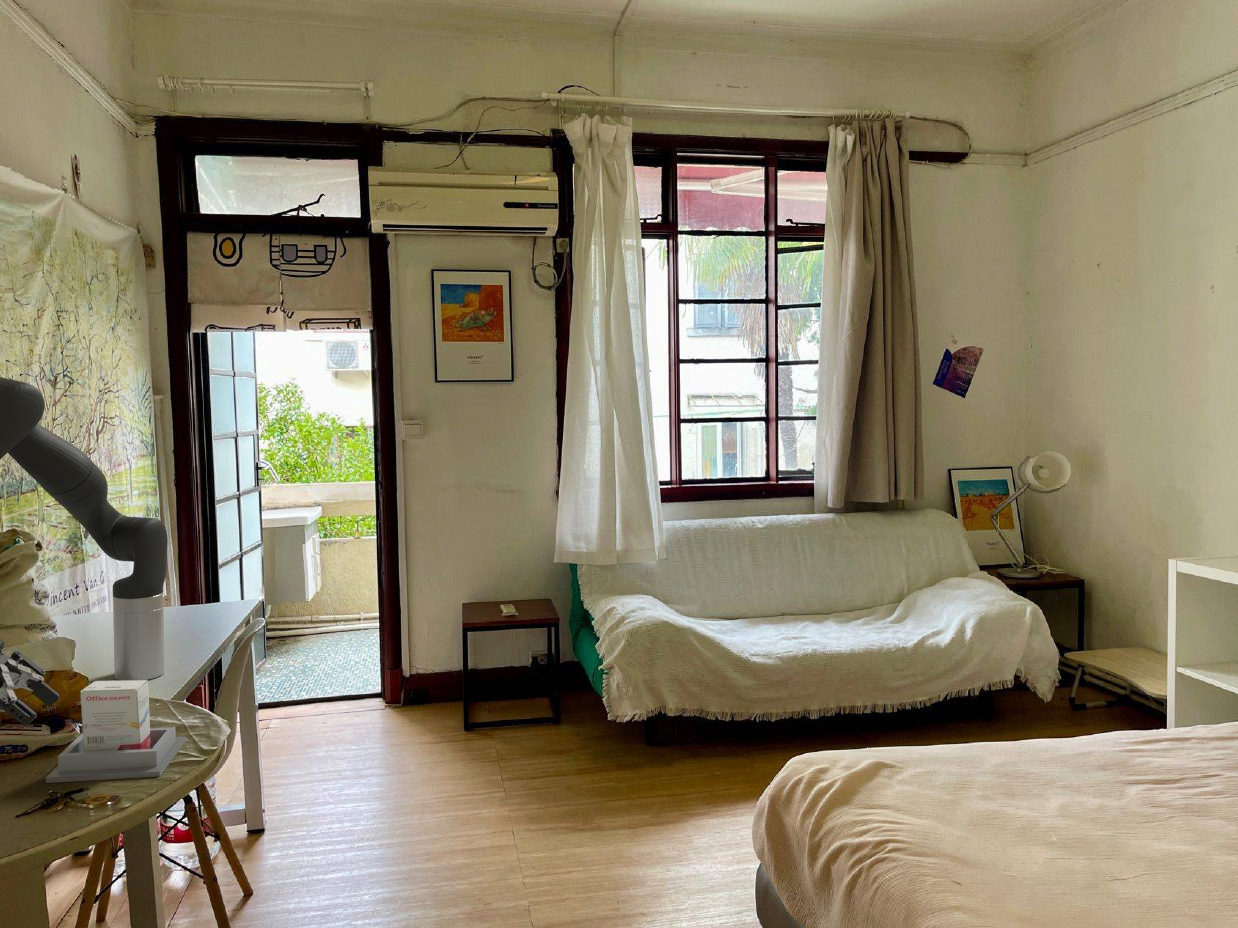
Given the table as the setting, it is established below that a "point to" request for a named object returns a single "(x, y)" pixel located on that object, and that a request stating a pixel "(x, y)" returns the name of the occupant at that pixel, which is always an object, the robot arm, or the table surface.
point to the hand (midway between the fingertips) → (44, 711)
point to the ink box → (115, 716)
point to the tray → (117, 760)
